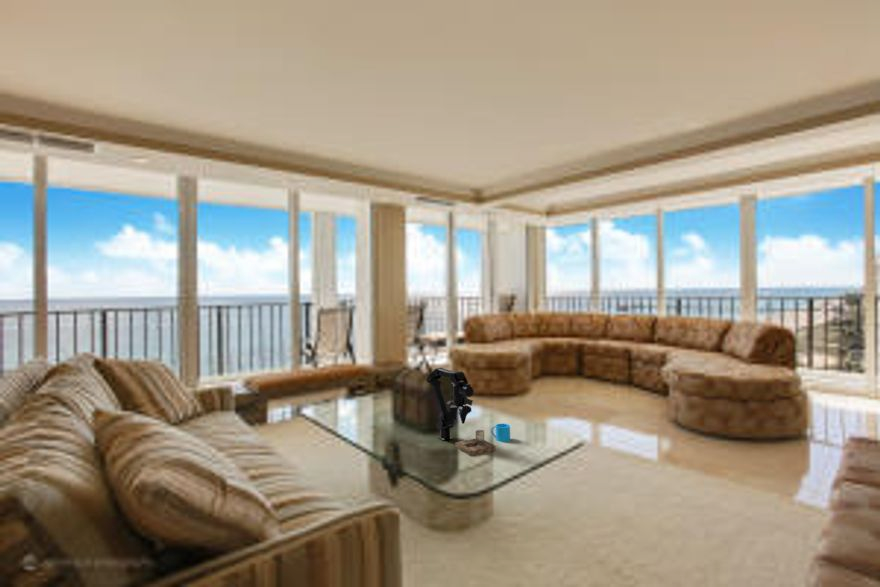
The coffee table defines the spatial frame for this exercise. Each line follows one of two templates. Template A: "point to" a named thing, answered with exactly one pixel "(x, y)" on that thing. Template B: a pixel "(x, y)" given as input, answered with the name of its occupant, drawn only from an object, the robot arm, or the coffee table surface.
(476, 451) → the keyhole board
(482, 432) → the peg
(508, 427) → the mug
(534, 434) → the coffee table surface
